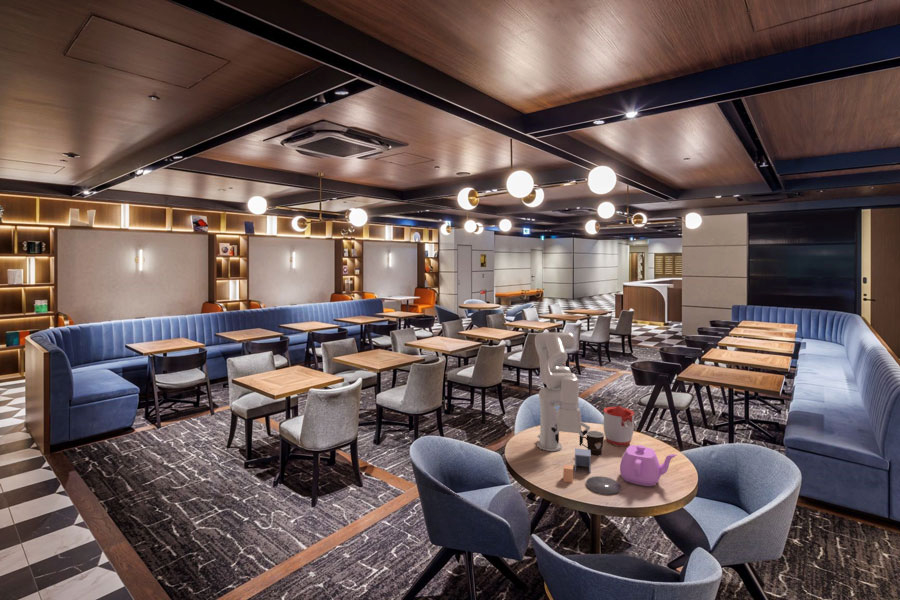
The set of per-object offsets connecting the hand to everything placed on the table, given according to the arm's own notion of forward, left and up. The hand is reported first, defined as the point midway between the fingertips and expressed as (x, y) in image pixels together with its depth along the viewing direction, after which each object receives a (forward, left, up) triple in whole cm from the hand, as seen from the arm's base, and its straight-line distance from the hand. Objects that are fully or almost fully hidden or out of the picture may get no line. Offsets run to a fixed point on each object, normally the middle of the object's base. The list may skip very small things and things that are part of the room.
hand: (568, 443), depth 198 cm
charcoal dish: (+11, +10, -17) cm, 22 cm away
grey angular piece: (-6, +13, -17) cm, 22 cm away
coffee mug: (-18, +29, -17) cm, 38 cm away
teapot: (+13, +30, -17) cm, 37 cm away
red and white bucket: (-22, +51, -17) cm, 58 cm away
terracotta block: (0, 0, -17) cm, 17 cm away
